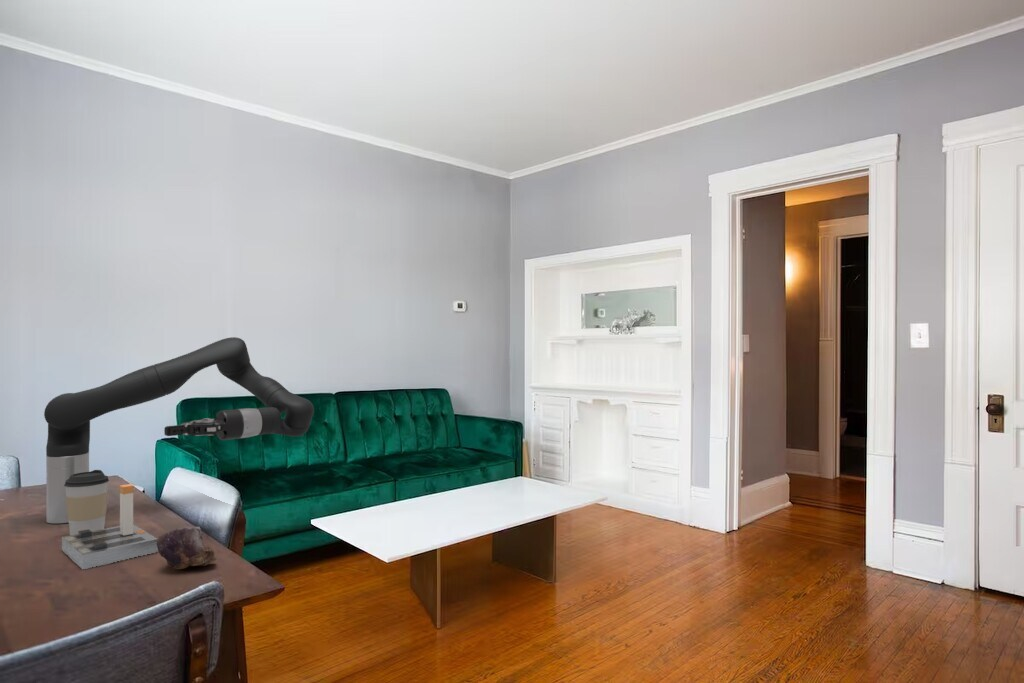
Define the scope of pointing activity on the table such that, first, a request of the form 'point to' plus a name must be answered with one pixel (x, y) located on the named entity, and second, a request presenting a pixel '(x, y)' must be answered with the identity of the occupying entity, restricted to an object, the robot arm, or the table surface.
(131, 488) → the orange-capped grey post
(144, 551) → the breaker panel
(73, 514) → the coffee cup
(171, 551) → the rock
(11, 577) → the table surface
